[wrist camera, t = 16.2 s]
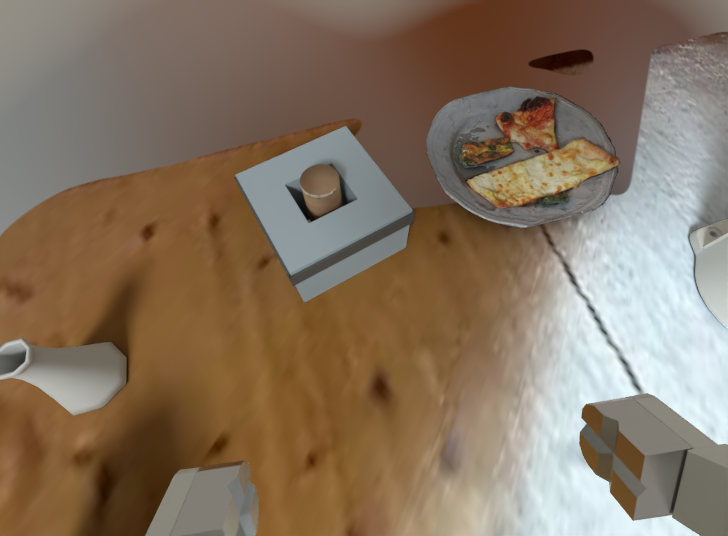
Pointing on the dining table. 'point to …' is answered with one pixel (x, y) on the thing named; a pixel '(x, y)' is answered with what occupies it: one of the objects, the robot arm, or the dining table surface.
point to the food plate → (521, 156)
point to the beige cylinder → (321, 190)
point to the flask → (67, 372)
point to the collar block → (335, 230)
